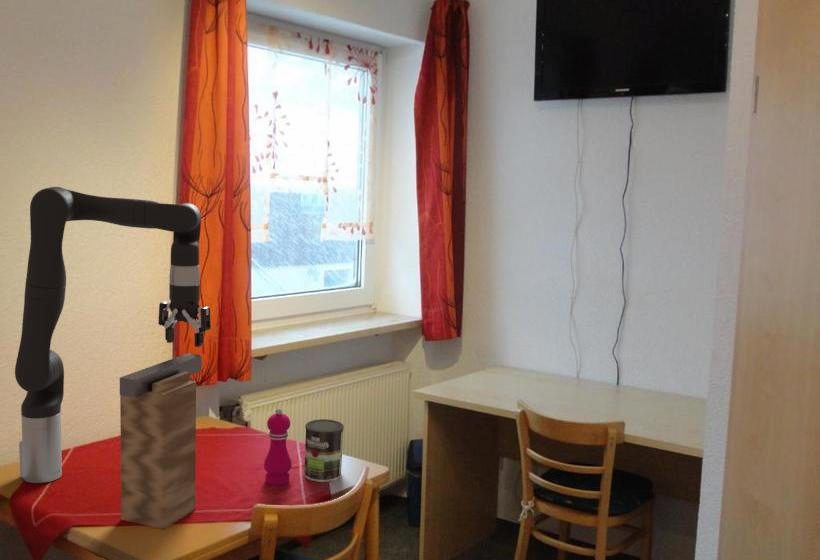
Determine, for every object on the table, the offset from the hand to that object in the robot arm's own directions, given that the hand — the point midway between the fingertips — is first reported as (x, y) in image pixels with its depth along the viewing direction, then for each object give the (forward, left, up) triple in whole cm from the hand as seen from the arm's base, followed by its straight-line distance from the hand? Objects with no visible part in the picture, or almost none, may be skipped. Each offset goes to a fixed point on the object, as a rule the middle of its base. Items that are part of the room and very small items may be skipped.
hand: (184, 344), depth 212 cm
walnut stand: (+8, -21, -36) cm, 42 cm away
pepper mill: (+23, +9, -36) cm, 44 cm away
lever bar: (+8, -19, -4) cm, 21 cm away
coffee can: (+32, +18, -36) cm, 52 cm away
